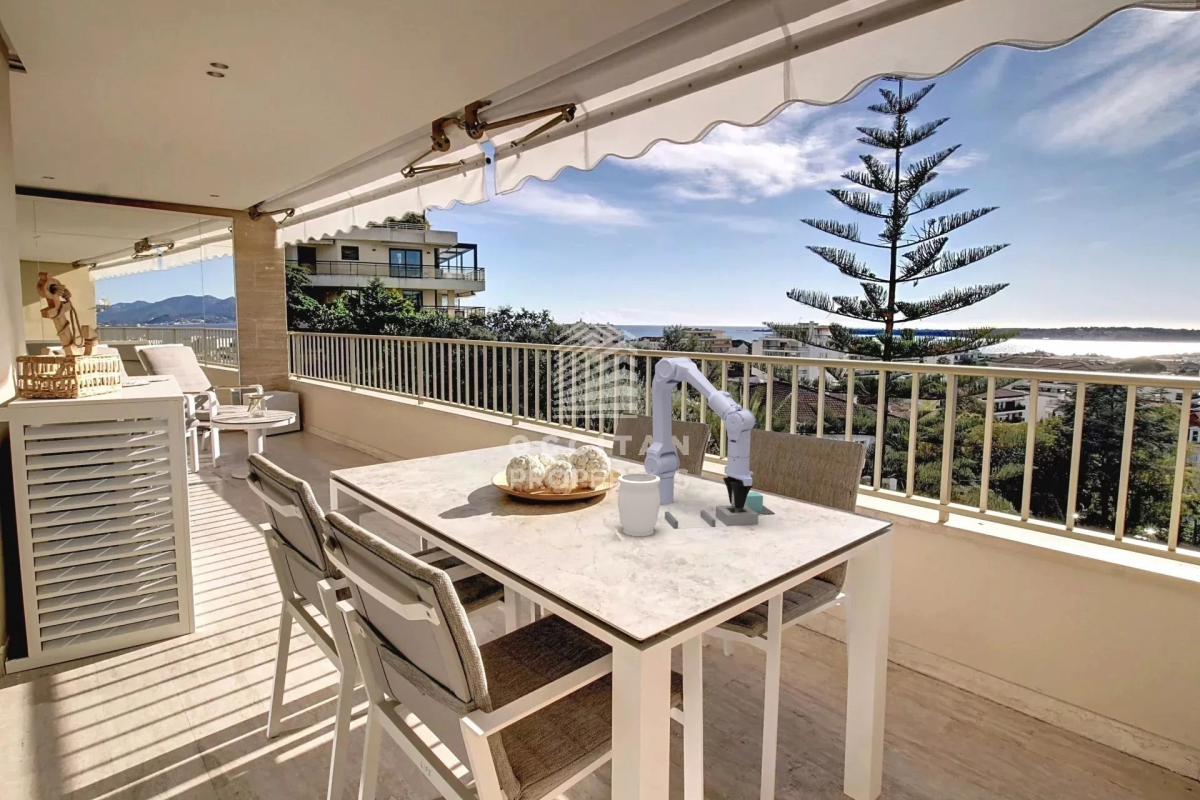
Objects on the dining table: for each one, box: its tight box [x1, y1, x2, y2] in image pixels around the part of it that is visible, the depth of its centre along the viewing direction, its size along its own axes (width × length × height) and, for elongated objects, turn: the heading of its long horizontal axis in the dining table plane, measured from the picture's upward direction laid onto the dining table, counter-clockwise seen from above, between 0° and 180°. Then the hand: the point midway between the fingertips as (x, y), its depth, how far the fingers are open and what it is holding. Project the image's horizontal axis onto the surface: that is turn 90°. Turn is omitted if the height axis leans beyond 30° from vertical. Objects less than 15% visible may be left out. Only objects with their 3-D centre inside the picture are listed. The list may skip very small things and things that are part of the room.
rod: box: [730, 489, 743, 513], centre depth 169 cm, size 3×3×8 cm
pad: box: [756, 505, 776, 516], centre depth 183 cm, size 9×9×1 cm
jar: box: [617, 472, 660, 537], centre depth 159 cm, size 11×10×15 cm
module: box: [745, 491, 764, 512], centre depth 183 cm, size 4×4×4 cm
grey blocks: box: [664, 505, 759, 530], centre depth 169 cm, size 24×14×4 cm, turn 100°
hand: (736, 505), depth 169 cm, fingers closed on rod, 3 cm apart
